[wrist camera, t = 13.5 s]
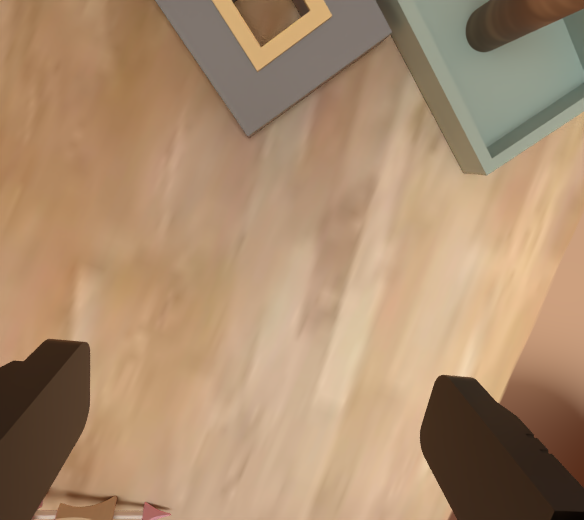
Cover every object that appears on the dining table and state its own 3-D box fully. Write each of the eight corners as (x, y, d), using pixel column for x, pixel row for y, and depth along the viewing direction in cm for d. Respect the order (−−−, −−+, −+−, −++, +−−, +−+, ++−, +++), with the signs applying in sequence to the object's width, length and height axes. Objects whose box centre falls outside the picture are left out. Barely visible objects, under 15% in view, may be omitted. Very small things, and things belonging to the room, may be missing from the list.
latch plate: (146, -14, 31) (132, -34, 28) (289, -128, 30) (293, -163, 26) (248, 137, 35) (247, 136, 31) (381, 42, 33) (393, 30, 30)
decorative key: (171, 490, 48) (-16, 487, 42) (173, 483, 48) (-16, 479, 42) (167, 544, 42) (-53, 549, 36) (169, 536, 42) (-53, 540, 36)
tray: (355, -34, 32) (367, -59, 28) (505, -146, 30) (540, -189, 26) (463, 172, 37) (486, 175, 33) (595, 84, 35) (636, 76, 32)
